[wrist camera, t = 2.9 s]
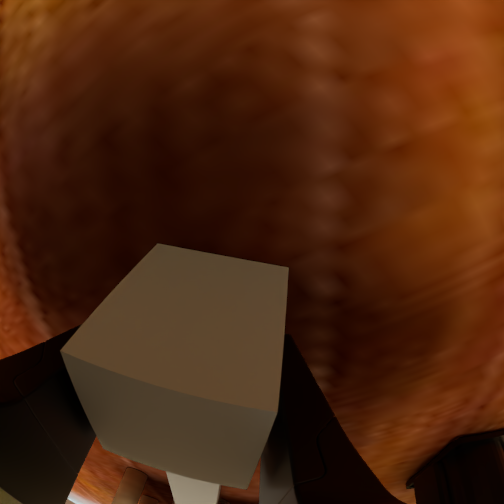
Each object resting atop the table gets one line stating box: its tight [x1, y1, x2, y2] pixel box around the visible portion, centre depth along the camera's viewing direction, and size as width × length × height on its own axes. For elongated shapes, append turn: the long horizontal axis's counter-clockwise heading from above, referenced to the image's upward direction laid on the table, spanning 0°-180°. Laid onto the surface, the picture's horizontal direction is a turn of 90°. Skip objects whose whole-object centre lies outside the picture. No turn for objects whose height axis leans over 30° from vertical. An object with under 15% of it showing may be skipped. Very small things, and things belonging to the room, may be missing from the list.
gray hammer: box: [60, 243, 289, 504], centre depth 11 cm, size 4×20×5 cm, turn 171°
